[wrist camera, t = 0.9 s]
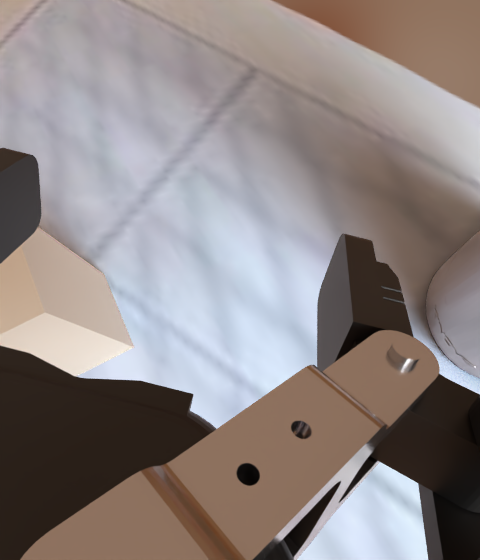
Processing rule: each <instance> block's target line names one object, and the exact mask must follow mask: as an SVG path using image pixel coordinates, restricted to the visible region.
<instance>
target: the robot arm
mask: <svg viewBox="0 0 480 560" xmlns="http://www.w3.org/2000/svg"><path fill="white" fill-rule="evenodd" d="M40 218H41V200H40V185H39V169H38V163H37V160H36V158H35V157H34V156H33V155H30V154H26V153H22V152H18V151H14V150H10V149H6V148H0V264H1V263H2V262H3V261H4V260H5V259H6V258H7V257H8V256H10V255H11V254H12V253H13V252H14V251H15V250H16V249H17V248H18V247H19V246H20V245H22V244H23V243H24V242H25V241H26V240H27V239H28V238H29V237H30V236H31V235H32V234H33V233H34V232H35V231H36V229H37V227H38V225H39V222H40ZM426 316H427V320H428V324H429V328H430V331H431V333H432V335H433V337H434V339H435V341H436V343H437V345H438V346H439V347H440V349H441V350H442V351H443V352H444V354H445V355H446V356H447V357H448V358H449V359H450V360H451V361H452V362H453V363H455V364H456V365H457V366H458V367H459V368H461V369H462V370H464V371H466V372H467V373H469V374H471V375H473V376H474V377H477V378H480V230H479V231H478V232H477V233H476V234H475V235H474V236H473V237H472V238H471V239H470V240H468V241H467V242H466V243H465V244H464V245H463V246H462V247H461V248H460V249H459V250H458V251H457V252H455V253H454V254H453V255H452V256H451V257H450V258H449V259H448V260H447V261H446V262H445V263H444V264H443V265H442V266H441V267H440V269H439V270H438V271H437V272H436V274H435V275H434V277H433V279H432V281H431V283H430V286H429V288H428V293H427V298H426ZM192 398H193V394H191V393H187V392H183V391H179V390H175V389H171V388H167V387H163V386H159V385H155V384H151V383H147V382H143V381H134V380H110V379H87V378H79V377H76V376H73V375H71V374H69V373H67V372H65V371H63V370H62V369H60V368H58V367H56V366H54V365H52V364H50V363H48V362H46V361H44V360H42V359H40V358H38V357H36V356H34V355H33V354H31V353H28V352H24V351H20V350H16V349H12V348H8V347H4V346H0V560H297V558H298V557H299V556H300V555H301V554H302V553H303V552H304V550H305V549H306V548H307V547H308V546H309V544H310V543H311V542H312V541H313V540H314V538H315V537H316V536H317V534H318V533H319V532H320V530H321V529H322V528H323V526H324V525H325V524H326V523H327V521H328V520H329V519H330V518H331V516H332V515H333V514H334V513H335V512H336V511H337V509H338V508H339V507H340V506H341V505H342V504H343V503H344V502H345V500H346V499H347V498H348V497H349V496H350V495H351V494H352V493H353V491H354V490H355V489H356V488H357V487H358V486H359V485H360V484H361V482H362V481H363V480H364V479H365V478H366V477H367V476H368V475H369V474H370V472H371V471H372V470H373V469H374V468H375V467H376V466H377V465H378V463H379V462H382V463H383V464H385V465H387V466H389V467H390V468H392V469H394V470H396V471H398V472H399V473H401V474H403V475H405V476H407V477H408V478H410V479H412V480H414V481H415V482H417V483H418V484H419V492H420V499H421V507H422V514H423V522H424V529H425V537H426V544H427V552H428V559H429V560H480V395H479V394H477V393H475V392H473V391H471V390H469V389H467V388H465V387H463V386H461V385H459V384H457V383H455V382H452V381H451V380H449V379H447V378H445V377H443V376H442V375H440V374H439V364H438V361H437V359H436V357H435V356H434V354H433V353H432V352H431V351H430V350H429V348H427V347H426V346H425V345H424V344H423V343H421V342H420V341H419V340H417V339H415V338H414V337H413V333H412V330H411V326H410V322H409V318H408V314H407V310H406V306H405V304H404V299H403V295H402V293H401V287H400V283H399V279H398V277H397V276H396V274H395V273H394V272H393V271H392V270H391V268H390V267H389V266H388V265H387V264H385V263H381V262H377V261H376V258H375V253H374V248H373V243H372V241H371V240H367V239H363V238H359V237H355V236H351V235H347V234H342V235H341V237H340V239H339V241H338V243H337V246H336V248H335V251H334V254H333V256H332V259H331V261H330V264H329V267H328V269H327V272H326V274H325V277H324V280H323V282H322V285H321V289H320V293H319V297H318V311H317V367H316V366H315V365H309V366H307V367H305V368H304V369H302V370H301V371H299V372H298V373H296V374H295V375H294V376H292V377H291V378H289V379H288V380H286V381H285V382H284V383H282V384H281V385H279V386H278V387H276V388H275V389H274V390H272V391H271V392H269V393H268V394H266V395H265V396H263V397H262V398H261V399H259V400H258V401H256V402H255V403H253V404H252V405H251V406H249V407H248V408H246V409H245V410H243V411H242V412H241V413H239V414H238V415H236V416H235V417H233V418H232V419H231V420H229V421H228V422H226V423H225V424H223V425H222V426H221V427H219V428H218V429H216V428H215V427H214V426H213V425H211V424H210V423H209V422H207V421H206V420H205V419H203V418H202V417H200V416H198V415H197V414H195V413H193V412H191V411H190V408H191V403H192Z"/></svg>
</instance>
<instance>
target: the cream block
mask: <svg viewBox="0 0 480 560" xmlns="http://www.w3.org/2000/svg"><path fill="white" fill-rule="evenodd" d="M0 346H4V347H8V348H12V349H16V350H20V351H24V352H28V353H31V354H33V355H34V356H36V357H38V358H40V359H42V360H44V361H46V362H48V363H50V364H52V365H54V366H56V367H58V368H60V369H62V370H63V371H65V372H67V373H69V374H71V375H73V376H78V375H80V374H82V373H84V372H86V371H88V370H90V369H92V368H94V367H96V366H98V365H100V364H102V363H104V362H106V361H108V360H110V359H112V358H114V357H116V356H118V355H120V354H122V353H124V352H126V351H128V350H130V349H132V348H134V345H133V343H132V341H131V338H130V336H129V333H128V331H127V328H126V326H125V324H124V321H123V319H122V316H121V314H120V311H119V309H118V307H117V304H116V302H115V299H114V297H113V295H112V292H111V290H110V287H109V285H108V282H107V280H106V278H105V275H104V274H103V273H102V272H100V271H99V270H97V269H96V268H95V267H93V266H92V265H90V264H89V263H88V262H86V261H85V260H83V259H82V258H81V257H79V256H78V255H77V254H75V253H74V252H72V251H71V250H70V249H68V248H67V247H65V246H64V245H63V244H61V243H60V242H59V241H57V240H56V239H54V238H53V237H52V236H50V235H49V234H47V233H46V232H45V231H43V230H42V229H40V228H39V227H37V229H36V231H35V232H34V233H33V234H32V235H31V236H30V237H29V238H28V239H27V240H26V241H25V242H24V243H23V244H22V245H20V246H19V247H18V248H17V249H16V250H15V251H14V252H13V253H12V254H11V255H10V256H8V257H7V258H6V259H5V260H4V261H3V262H2V263H1V264H0Z"/></svg>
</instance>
